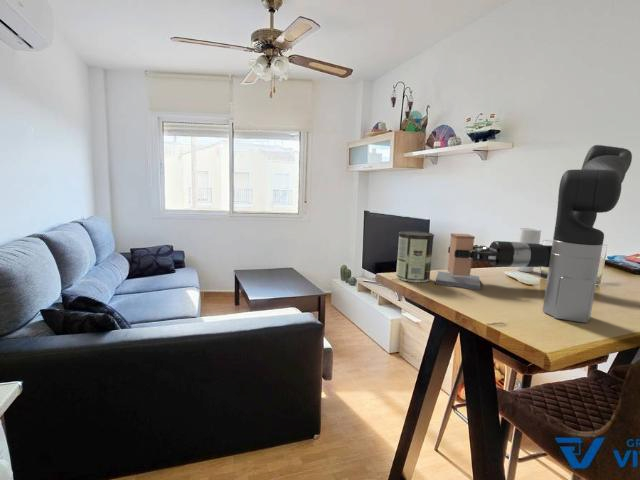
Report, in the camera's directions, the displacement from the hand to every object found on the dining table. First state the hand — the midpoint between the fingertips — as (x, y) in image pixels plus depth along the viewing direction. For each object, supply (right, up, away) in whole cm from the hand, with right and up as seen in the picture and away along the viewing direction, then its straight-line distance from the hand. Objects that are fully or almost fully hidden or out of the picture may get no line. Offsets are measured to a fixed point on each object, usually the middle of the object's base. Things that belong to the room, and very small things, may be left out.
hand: (452, 251), depth 108 cm
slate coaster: (+2, -9, +1) cm, 10 cm away
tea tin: (+2, -7, +1) cm, 7 cm away
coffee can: (-11, -9, +3) cm, 14 cm away
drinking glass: (+34, -8, +21) cm, 40 cm away
